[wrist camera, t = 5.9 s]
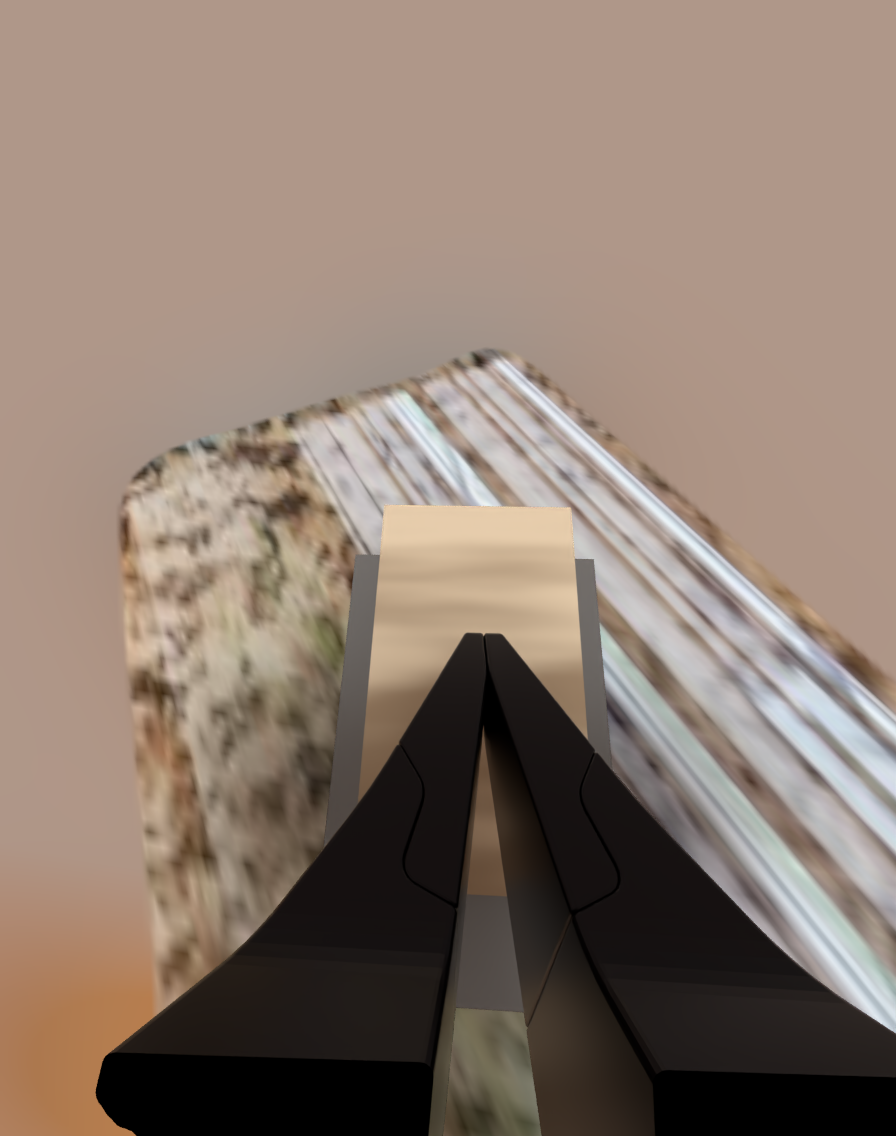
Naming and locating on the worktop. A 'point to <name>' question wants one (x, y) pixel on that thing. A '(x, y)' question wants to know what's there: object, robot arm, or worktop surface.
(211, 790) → the worktop surface
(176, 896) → the worktop surface
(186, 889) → the worktop surface
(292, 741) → the worktop surface
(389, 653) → the birch block
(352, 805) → the rubber mat
